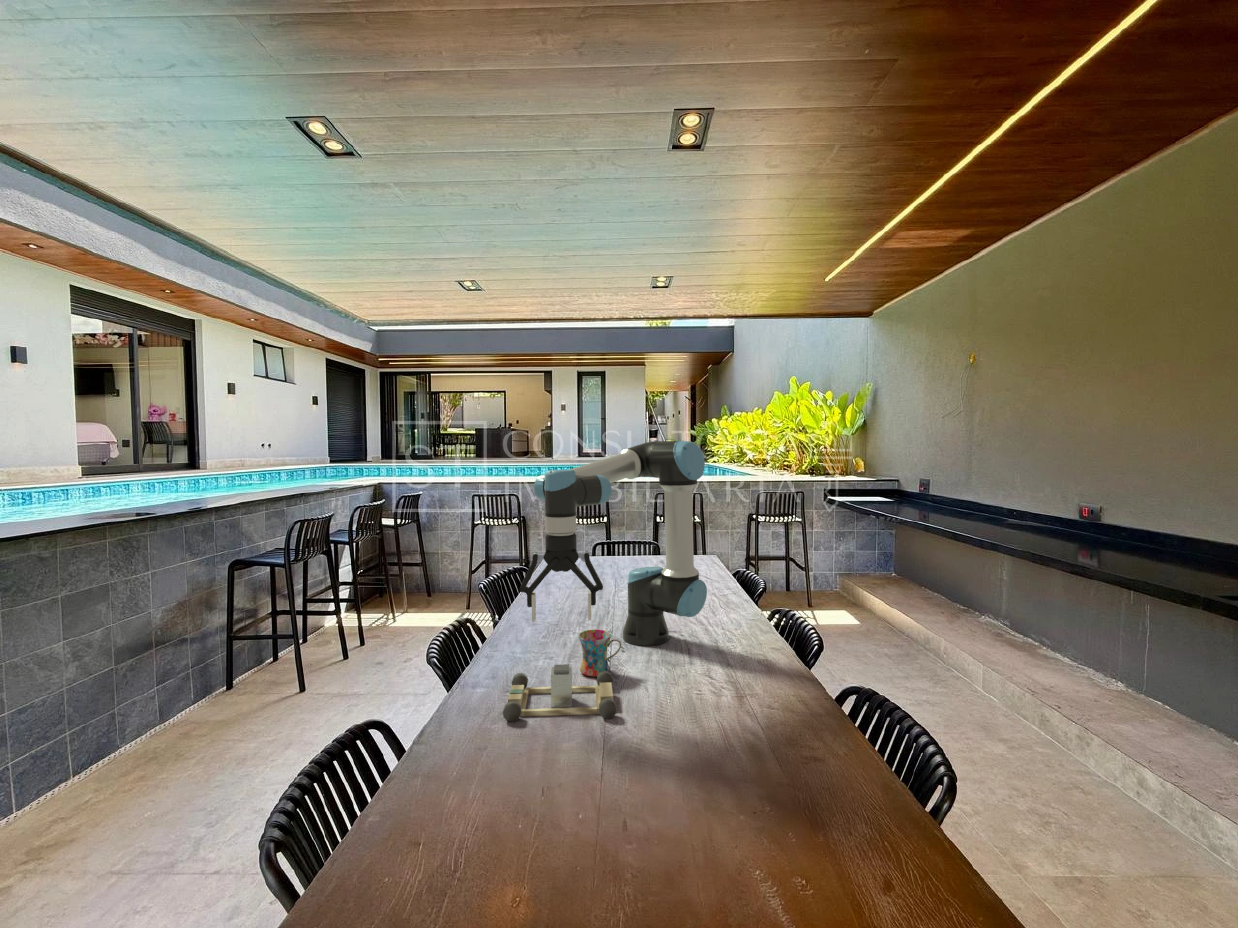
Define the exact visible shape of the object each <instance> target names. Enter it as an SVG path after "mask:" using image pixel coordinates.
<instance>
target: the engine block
mask: <svg viewBox="0 0 1238 928" xmlns="http://www.w3.org/2000/svg"><path fill="white" fill-rule="evenodd" d="M572 680H573V666H570V664H568V663H567V664H554V665H553V666H551V671H550V687H551V693H550V708H573V693H572V686H573V681H572Z"/></svg>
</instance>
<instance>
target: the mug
mask: <svg viewBox="0 0 1238 928" xmlns="http://www.w3.org/2000/svg"><path fill="white" fill-rule="evenodd" d="M577 637H578V640H579V642H580V645H581V649H582V660H581V664H580V667H579V672H580V673H581V674H583V675H584V676H588V677H597V676H598V674H599V673H600V672H602V671H608V672H609V673H610V671H611V668H610V666H609V665H610V664H609V663H611V660H610V659H612V658H614V657H615V656H616V655H617V654H618V653H619V652H620V650H621V649H622V648H621V646H622V642H621V640H619V639H616V638H613V639H612V633H611V632H609V631H608V630H605V629H587V630H583V631H581V632H579V634H577ZM613 642H618V643H619V647H618V649H617V650H616V651H615V653H613V654H611V655H610V656H608V648H609V647H610V645H611V644H612V643H613Z"/></svg>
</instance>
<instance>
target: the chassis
mask: <svg viewBox="0 0 1238 928" xmlns="http://www.w3.org/2000/svg"><path fill="white" fill-rule="evenodd" d="M596 677H597V678H596V681H597V682H596V683H597V685H580V686H579V685H576V686H575V685H572V694H573V693H574V694H575V693H595V706H591V707H590V706H589V707H587V706H585V707H558V708H551V707H550V708H526V707H527V704H528V699H529V695H530V694H532V695H533V694H534V695H536V694H537V695H538V694H551V686H536V687H535V686H534V687H532V686H531V687H528V683H529V679H528V676H527V675H526V674H525V673H521V672H517V673H516V674H514V676H513V677H512V680H511V688H510V691H509V695H508V698H507V702H506V703H505V705H504V708H503V711H502V717H503V718H504V720H505V721H507V722H510V723H515V722H516V721H518V719H520V717H542V716H543V717H544V716H574V715H575V716H576V715H577V716H578V715H600V717H602V718H603V719H605V720H606V719H607V720H608V719H612V718H614V717H615V715H616V713H617V705H616V702H615V700H614V694H613V683H614V682H613V675H612V674H611V672H610V671H609V672H608V671H602V672H600V673H599V674H598V676H596Z"/></svg>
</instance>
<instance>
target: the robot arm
mask: <svg viewBox="0 0 1238 928" xmlns="http://www.w3.org/2000/svg"><path fill="white" fill-rule="evenodd" d="M705 462H706V461H705V456H704V454H703V451H702V449H701V448H700V446H699V445H698V444H696V443H695V442H694V441H690V440H689V441H687V440H663V441H662V440H660V441H659V440H653V441H648V442H644V443H640V444H637V445H634V446H630V447H629V448H628V447H627V448H625V449H622V450H620V452H619V453H618V454H616V455H613V456H610V457H607V458H603V459H600V460H596V461H593V462H590V463H587V464H583V465H580V466H577V467H573V468H570V469H549V470H547V471H546V472H545V473H542V474H540V475H539V476H537V477H536V479H535V480H534V484H533V491H534V494H535V496H536V498H537V499H539V500H541V501H544V511H545V512H544V514H545V516H544V526H545V528H544V530H545V533H546V534H545V537H544V539H545V552H544V553H538V552H537V551H534V552H533V554H532V559H531V564H530V566H529V568H528V570H527V572H526V574H525V577H523V580H522V582H521V584H520V587H519V593H525V594H526V606H527V608H531V622H536V619H537V600H536V599H537V597H536V594H537V593H536V592H537V591H535V590H536V589H537V588H538V586H539V585H540V584H541V583H542V581H543V580H544V579H545V578H546V577H547V575H548V574H549V573H550V572H551V571H553V572H554V573H559V572H564V573H565V572H566V573H567V572H569V571H570V570H571V572H573V574H575V575H576V577H577V578H578V579H579V580H580V581H581V582H582V584H584V586H585V587H586V588H587V619H588V621H592V606H596V603H597V601H596V600H597V599H596V598H597V597H596V596H597V594H596V593H597V592H599V591H602V590H603V589H604V585H603V583H602V581H601V578H600V576H599V575H598V573H597V571H596V569H595V567H594V566H593V563H592V561H591V559H590V552H589V551H588V550H586V551H583V552H578V551H577V534H576V531H577V508H578V507H584V506H586V507H587V506H592V505H593V506H594V505H595V506H598V505H600V504H604V503H607V502H608V501H609V499H610V498H611V497H612V496H611V495H612V490H613V489H612V483H616V482H618V481H621V480H624V479H627V480H628V479H629V480H634V479H636V478H653V479H654V478H656V479H658V484H659V486H660V487H661V489H662V490H663V491H664V492H663V493H664V494H663V495H664V528H665V529H664V532H665V533H664V534H665V535H664V536H665V537H664V538H665V539H664V540H665V541H664V542H665V567H664V568H663V567H661V566H646V567H645V566H644V567H638V568H634V569H631V570H630V571H629V573H628V574H627V575H628V577H627V617H626V619H625V624H624V626H623V630H622V639H623V641H624V642H626V643H628V644H632V645H635V646H644V647H645V646H649V647H650V646H659V645H662V644H664V643H667V642H668V641H669V637H670V635H669V634H670V631H669V628H668V625H667V622H666V618H665V616H664V613H669V614H672V615H675V616H679V617H686V618H694V617H695V616H697V615H698V614H700V612H702V609H703V608H704V606H705V604H706V601H707V596H708V595H707V594H708V588H707V585H706V583H705V581H703V580H702V579H700V573H699V569H697V567H695V566H694V565H695V563H694V561H695V559H694V558H695V557H694V523H693V521H694V520H693V519H694V513H693V512H694V510H693V505H694V504H693V490H694V489H695V487H696V486H697V485H698V480H699V479H701V478H702V476H703V474H704V471H705V467H706V464H705ZM579 559H580V560H581V562H583V563H585V566H586V568H587V570H588V571H589V574H590V575H591V577H592V580H593V581H594V583H595V585H594V583H593V582H592V581H591V580H590V579H589V578H588V577H587V576H586V574H584V572H583V571H582V569H580V567H578V565H577V564H576V563H577V562H578V560H579ZM542 560H544V562H545V563H546V564H547V565H546V566H545V567H544V568H543V570H542V571H541V572H540V573H539V574H538V576H537V577H536V578H535V580H533V582H532V583H531V584H530V585H529V586H528V584H529V581H530V579H531V577H532V576H533V574H534V571H535V569H536V567H537V564H538V563H541V561H542Z"/></svg>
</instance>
